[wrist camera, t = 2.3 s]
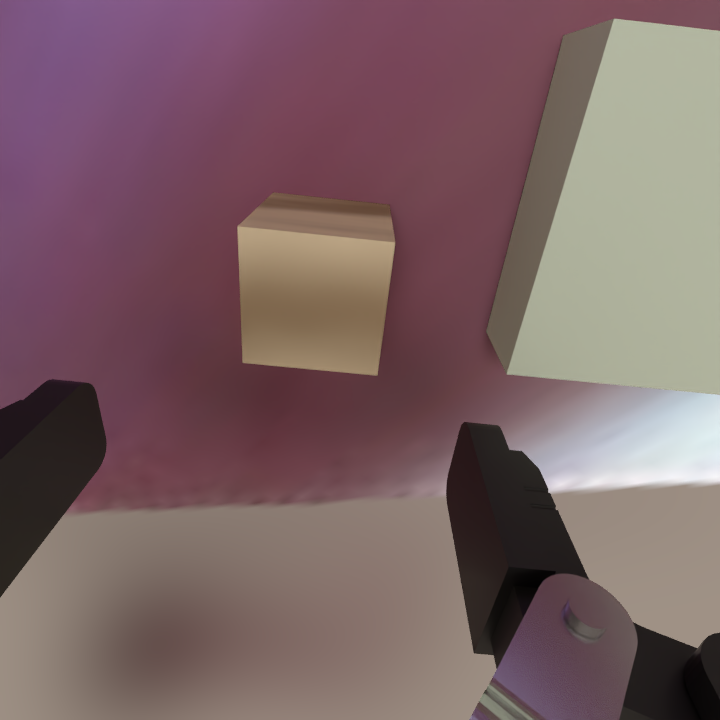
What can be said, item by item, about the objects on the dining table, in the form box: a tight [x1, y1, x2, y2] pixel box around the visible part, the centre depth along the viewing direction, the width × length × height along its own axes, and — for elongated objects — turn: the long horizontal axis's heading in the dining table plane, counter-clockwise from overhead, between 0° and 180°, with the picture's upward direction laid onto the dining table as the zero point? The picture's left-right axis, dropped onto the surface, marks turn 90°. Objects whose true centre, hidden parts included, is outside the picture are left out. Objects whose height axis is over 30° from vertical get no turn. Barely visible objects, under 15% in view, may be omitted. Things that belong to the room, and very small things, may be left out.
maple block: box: [237, 192, 395, 376], centre depth 18 cm, size 5×5×6 cm
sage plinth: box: [486, 19, 720, 395], centre depth 18 cm, size 12×12×4 cm
